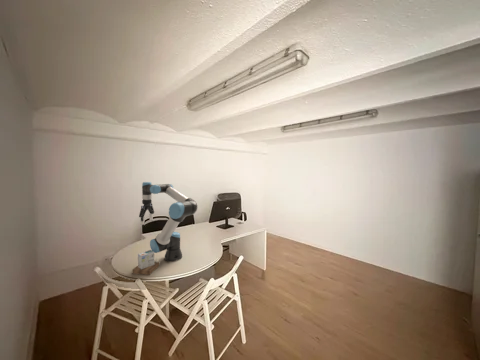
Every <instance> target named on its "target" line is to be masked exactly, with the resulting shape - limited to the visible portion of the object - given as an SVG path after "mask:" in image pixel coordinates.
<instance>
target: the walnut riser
mask: <svg viewBox="0 0 480 360" xmlns="http://www.w3.org/2000/svg"><path fill="white" fill-rule="evenodd" d="M159 267H160V262H158V261H157V262H156V261H154V265H152V266H149V267H147V268H144V269H140V268H139V267H138V265H136V266H135V267H134V268H133V269H132V271H131V272H132V274H133V275H136V274H137V275H147V276H148V275H149V276H150V275H151V274H152V273H153V272H154V271H156V270H157V269H158V268H159Z"/></svg>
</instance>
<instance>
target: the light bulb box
mask: <svg viewBox="0 0 480 360" xmlns="http://www.w3.org/2000/svg"><path fill="white" fill-rule="evenodd" d="M154 262H155V253H154V251H152V250H151V249H149V250H145V251H142V252H140V253H137V266H138V267H139V268H140V269H144V268H147V267H149V266H152V265H154Z"/></svg>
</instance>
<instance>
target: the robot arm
mask: <svg viewBox="0 0 480 360" xmlns="http://www.w3.org/2000/svg"><path fill="white" fill-rule="evenodd" d="M141 191H142V192H141V198H142V201H141V202H142V203H141V204H142V205H141V206H140V207H141V208H140V212H139V215H138V218H140V225H142V226H143V225H145V215H146V212H147V211H148V212H149V222H151V221H152V222H153V216H154V215H153V214H155V211H154V207H153V203H152V202H153V201H152V199H153V198H152V197H153V196H152V195H156V194H157V195H158V194H163V193H165V194H166V195H167V196H170V198H172V199H174V200H175V201H176V202H174V203H172V204H171V205H170V206H169V207H168V216H169V217H168V219H167V221H166V223H165V225H164V226H163V228H162V230H161V231H160V233H157V235H156V236H155V238H152V239H151V240H150V242H149V247H150V250H152V251H154V254H157V253H161V252H163V251H165V254H164V260H165V261H167V262H176V261H180V260H181V259H182V258H183V252H182V249H181V233H180V232H178V231H175V230H176V229H177V227H178V225H179V224H180V223H181V222H184V220H185V218H186V217H189V216H192V215H194V214H195V213H196V212H197V211H198V204H197V202H196V201H195V200H194V199H193V198H191V197H188V196H186V195H184V194H183V193H181V192H180V191H178V189H175V188H174V186H173V184H169V183H165V184H152V182H151V181H143V182H142V183H141Z"/></svg>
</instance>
